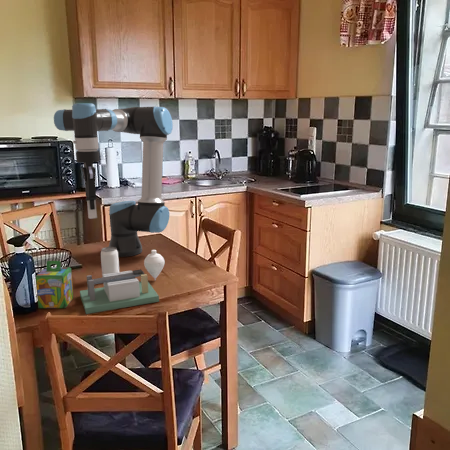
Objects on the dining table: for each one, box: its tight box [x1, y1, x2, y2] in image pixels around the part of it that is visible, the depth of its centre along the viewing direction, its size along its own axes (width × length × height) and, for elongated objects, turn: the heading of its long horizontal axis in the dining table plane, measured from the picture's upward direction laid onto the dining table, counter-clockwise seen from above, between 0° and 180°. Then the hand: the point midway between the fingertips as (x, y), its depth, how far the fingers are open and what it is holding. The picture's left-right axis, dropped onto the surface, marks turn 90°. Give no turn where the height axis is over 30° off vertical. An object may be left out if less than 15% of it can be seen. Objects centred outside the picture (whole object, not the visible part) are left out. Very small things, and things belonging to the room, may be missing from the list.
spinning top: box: [143, 249, 165, 281], centre depth 177 cm, size 8×8×12 cm
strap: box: [89, 268, 145, 285], centre depth 160 cm, size 3×18×2 cm, turn 113°
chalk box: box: [35, 260, 74, 309], centre depth 157 cm, size 9×9×15 cm
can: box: [100, 246, 120, 278], centre depth 179 cm, size 6×6×12 cm
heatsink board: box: [79, 270, 160, 315], centre depth 160 cm, size 16×24×9 cm, turn 113°
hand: (92, 217), depth 165 cm, fingers closed
